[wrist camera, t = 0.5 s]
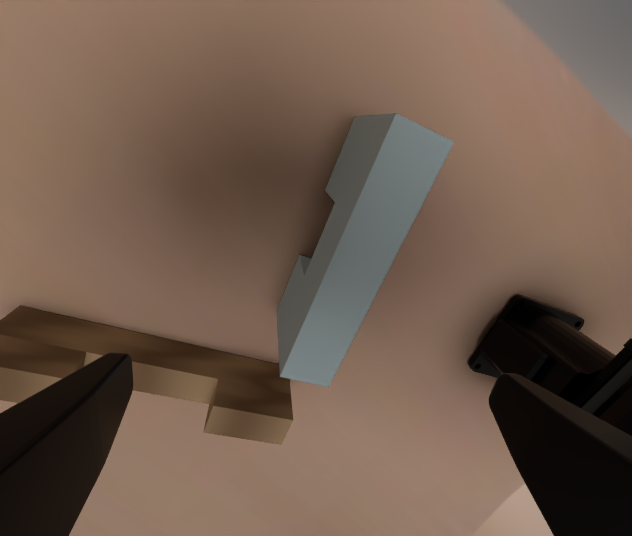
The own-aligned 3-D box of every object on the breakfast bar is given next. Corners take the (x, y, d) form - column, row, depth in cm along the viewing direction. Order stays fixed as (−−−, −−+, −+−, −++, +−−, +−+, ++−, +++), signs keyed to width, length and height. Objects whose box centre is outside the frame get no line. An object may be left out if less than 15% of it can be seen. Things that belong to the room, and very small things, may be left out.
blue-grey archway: (396, 136, 17) (454, 141, 12) (313, 320, 21) (328, 387, 16) (354, 116, 17) (396, 113, 11) (276, 310, 21) (279, 376, 15)
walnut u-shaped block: (288, 366, 23) (293, 420, 19) (278, 388, 23) (281, 444, 19) (19, 305, 18) (-51, 357, 14) (17, 334, 19) (-51, 391, 15)
